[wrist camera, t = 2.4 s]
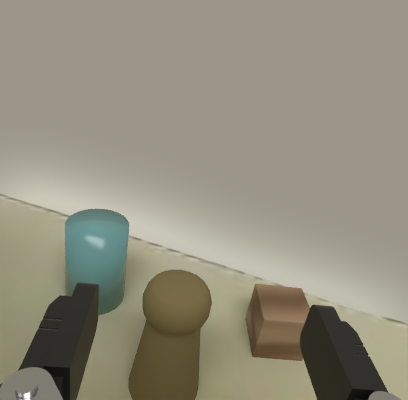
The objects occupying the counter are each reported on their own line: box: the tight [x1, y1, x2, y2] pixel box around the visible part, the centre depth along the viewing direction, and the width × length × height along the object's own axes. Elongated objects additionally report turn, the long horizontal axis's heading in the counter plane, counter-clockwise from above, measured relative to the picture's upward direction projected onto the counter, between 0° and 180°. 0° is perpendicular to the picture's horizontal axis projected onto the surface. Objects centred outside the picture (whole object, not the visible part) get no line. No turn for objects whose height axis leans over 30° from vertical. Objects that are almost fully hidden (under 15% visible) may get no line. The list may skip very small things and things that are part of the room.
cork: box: [129, 270, 212, 400], centre depth 30 cm, size 6×6×11 cm
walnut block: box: [246, 284, 310, 361], centre depth 38 cm, size 5×5×5 cm
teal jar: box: [65, 209, 129, 315], centre depth 39 cm, size 6×6×9 cm
